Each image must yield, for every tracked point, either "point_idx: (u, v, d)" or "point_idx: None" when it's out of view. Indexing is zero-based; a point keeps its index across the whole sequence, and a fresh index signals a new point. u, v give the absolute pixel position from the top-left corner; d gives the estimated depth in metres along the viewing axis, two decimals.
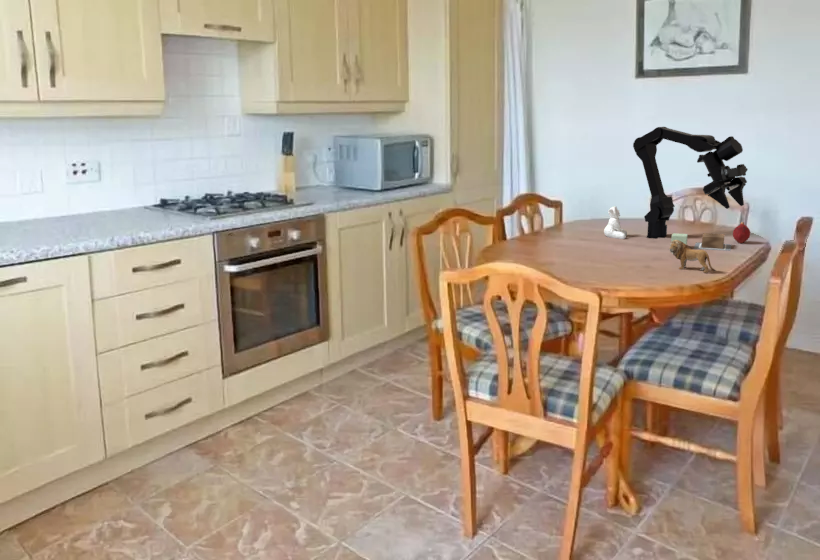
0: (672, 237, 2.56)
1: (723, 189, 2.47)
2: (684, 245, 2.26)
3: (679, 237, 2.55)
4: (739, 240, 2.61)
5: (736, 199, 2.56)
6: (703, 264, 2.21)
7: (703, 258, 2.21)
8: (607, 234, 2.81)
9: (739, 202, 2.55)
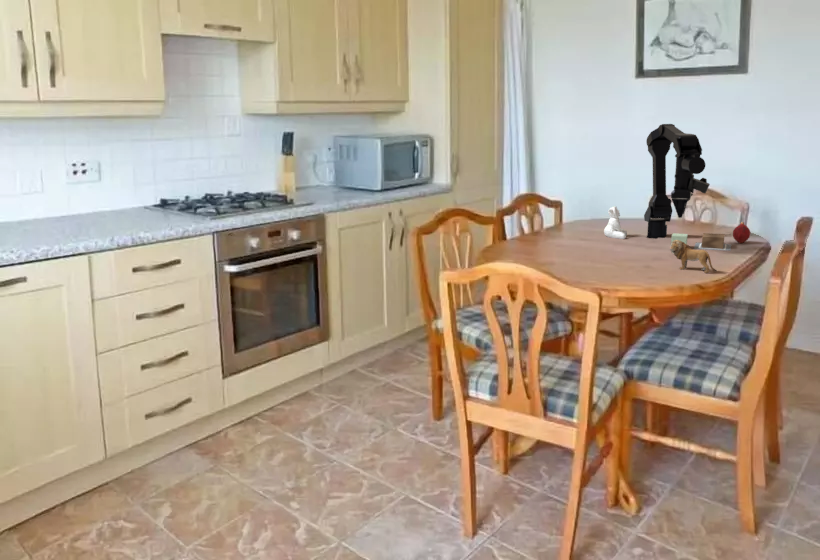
0: (672, 237, 2.56)
1: (688, 200, 2.47)
2: (685, 245, 2.26)
3: (679, 237, 2.55)
4: (739, 240, 2.61)
5: None
6: (704, 264, 2.21)
7: (704, 258, 2.21)
8: (607, 234, 2.81)
9: None
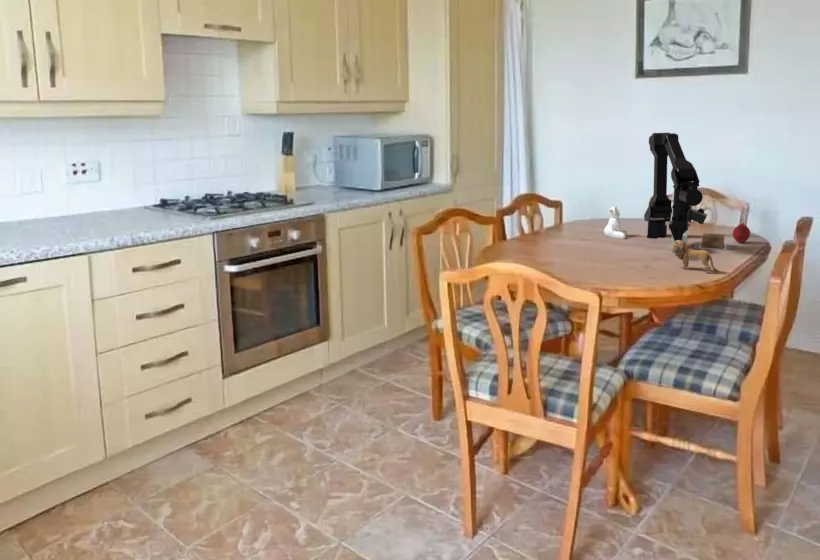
0: (672, 237, 2.56)
1: (686, 230, 2.51)
2: (686, 245, 2.26)
3: None
4: (739, 240, 2.61)
5: None
6: (706, 264, 2.21)
7: (706, 258, 2.21)
8: (607, 234, 2.81)
9: None
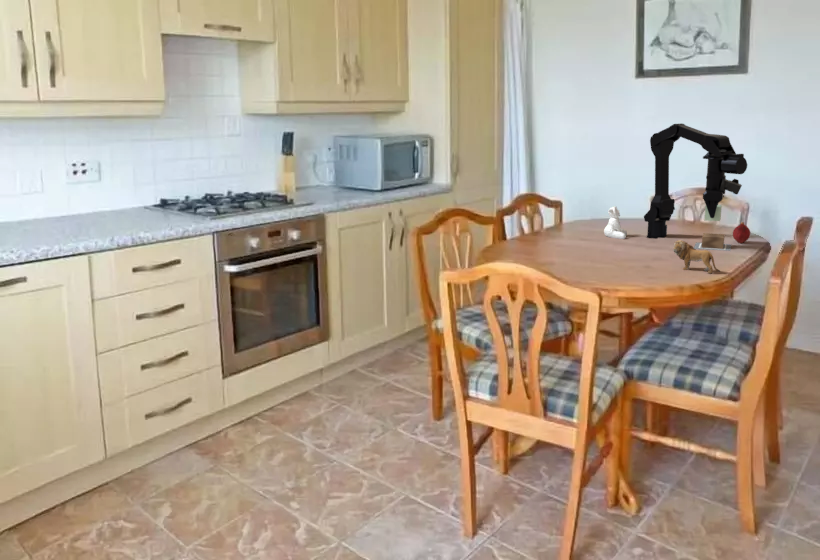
0: (706, 208, 2.53)
1: None
2: (688, 245, 2.25)
3: None
4: (739, 240, 2.61)
5: None
6: (707, 265, 2.21)
7: (707, 259, 2.20)
8: (607, 234, 2.81)
9: None
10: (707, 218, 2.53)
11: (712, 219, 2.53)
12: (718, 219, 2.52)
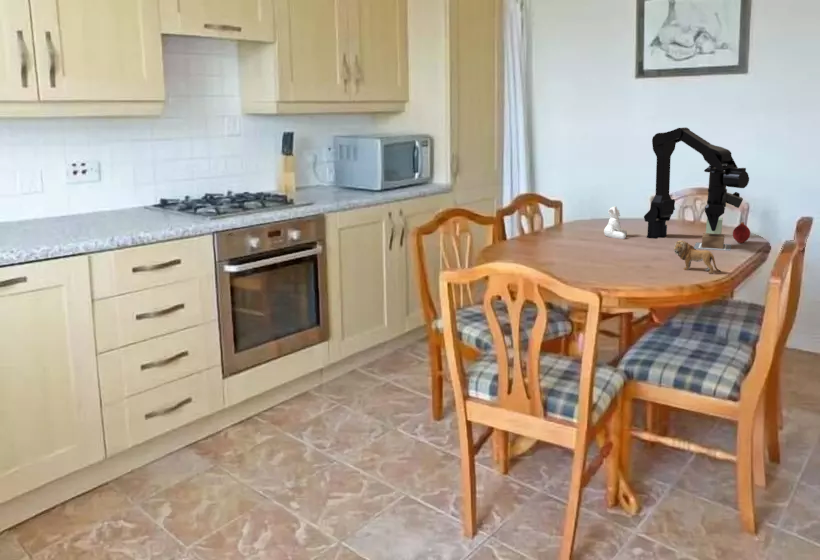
0: (707, 221, 2.54)
1: None
2: (689, 246, 2.25)
3: None
4: (739, 240, 2.61)
5: None
6: (708, 265, 2.20)
7: (708, 259, 2.20)
8: (607, 234, 2.81)
9: None
10: (709, 231, 2.55)
11: (713, 232, 2.54)
12: (719, 232, 2.53)
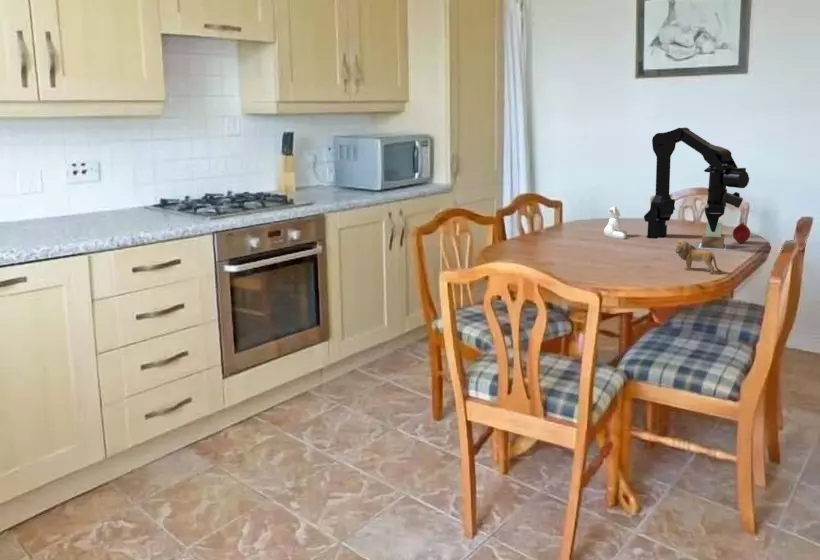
0: (707, 224, 2.54)
1: None
2: (690, 246, 2.25)
3: None
4: (739, 240, 2.61)
5: None
6: (709, 265, 2.20)
7: (709, 259, 2.20)
8: (607, 234, 2.81)
9: None
10: (708, 234, 2.55)
11: (713, 235, 2.54)
12: (719, 235, 2.54)
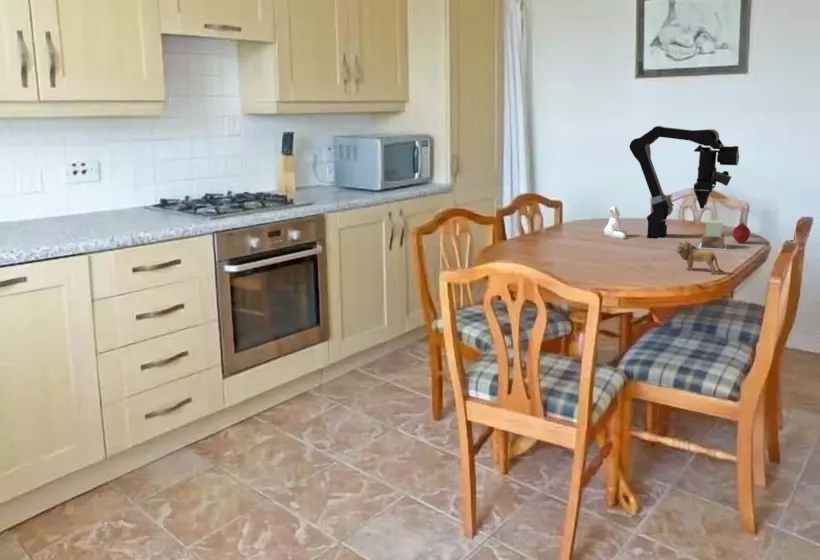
0: (707, 224, 2.54)
1: None
2: (691, 246, 2.25)
3: (714, 224, 2.53)
4: (739, 240, 2.61)
5: None
6: (710, 265, 2.20)
7: (710, 259, 2.20)
8: (607, 234, 2.81)
9: None
10: (708, 234, 2.55)
11: (713, 235, 2.54)
12: (719, 235, 2.54)
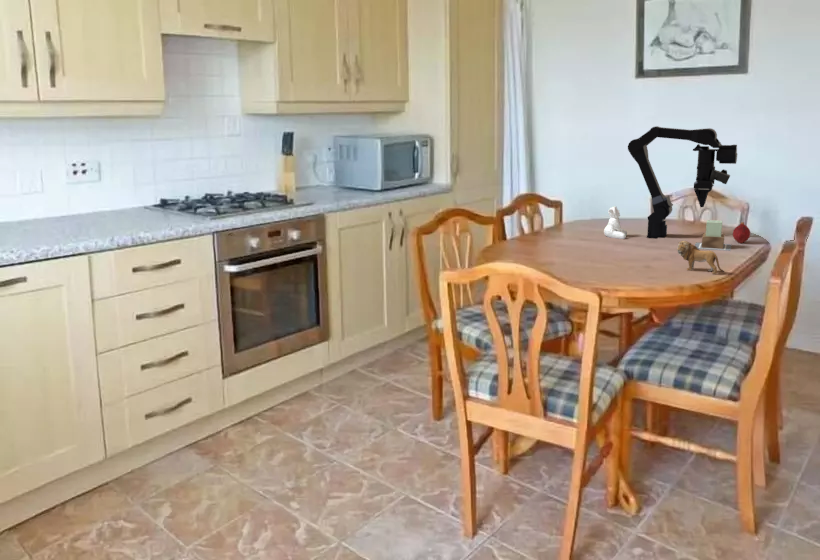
0: (707, 224, 2.54)
1: None
2: (692, 246, 2.24)
3: (714, 224, 2.53)
4: (739, 240, 2.61)
5: None
6: (712, 265, 2.20)
7: (712, 259, 2.20)
8: (607, 234, 2.81)
9: None
10: (708, 234, 2.55)
11: (713, 235, 2.54)
12: (719, 235, 2.54)
